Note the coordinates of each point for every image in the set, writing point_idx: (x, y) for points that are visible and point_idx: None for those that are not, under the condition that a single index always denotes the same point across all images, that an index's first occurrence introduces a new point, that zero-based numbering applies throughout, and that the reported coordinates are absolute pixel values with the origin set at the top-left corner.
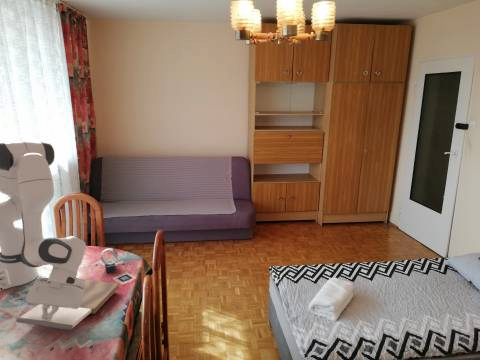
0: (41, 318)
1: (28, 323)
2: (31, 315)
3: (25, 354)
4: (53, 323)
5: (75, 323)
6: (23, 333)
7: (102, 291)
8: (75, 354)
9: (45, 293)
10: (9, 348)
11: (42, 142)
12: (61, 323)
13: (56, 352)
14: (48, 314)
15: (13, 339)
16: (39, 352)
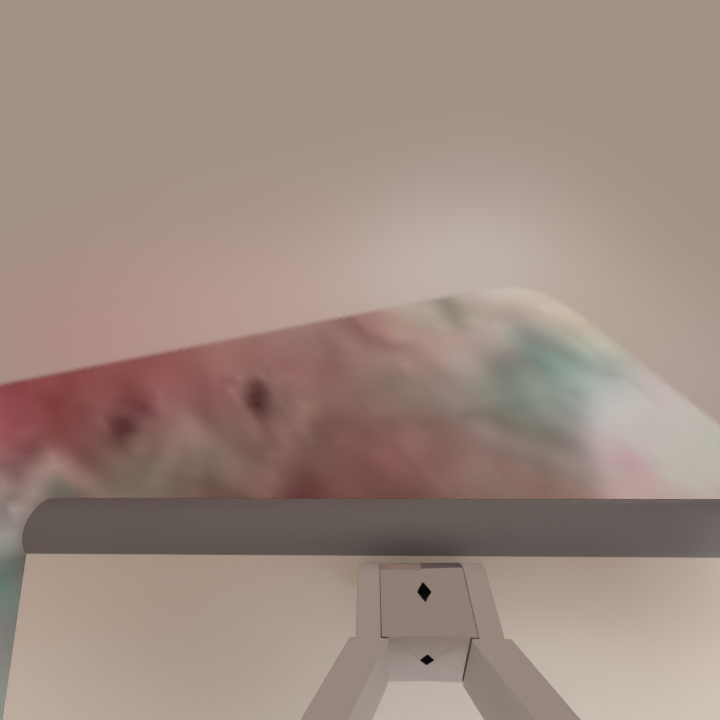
0: (516, 606)
1: (610, 500)
2: (715, 645)
3: (405, 313)
4: (270, 524)
5: (30, 618)
6: None
7: None
8: (60, 381)
9: None
10: (565, 337)
11: None
12: (177, 555)
13: (205, 371)
14: (385, 622)
15: (630, 423)
16: (324, 347)
